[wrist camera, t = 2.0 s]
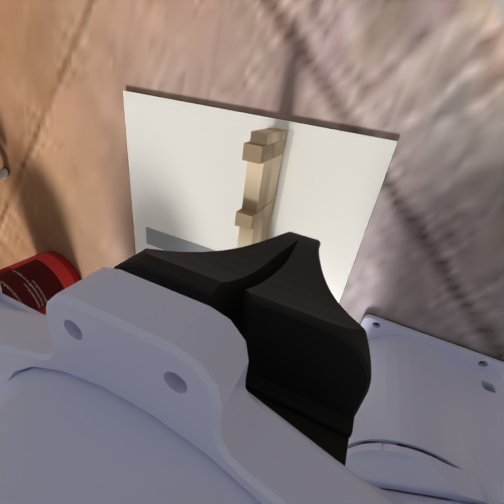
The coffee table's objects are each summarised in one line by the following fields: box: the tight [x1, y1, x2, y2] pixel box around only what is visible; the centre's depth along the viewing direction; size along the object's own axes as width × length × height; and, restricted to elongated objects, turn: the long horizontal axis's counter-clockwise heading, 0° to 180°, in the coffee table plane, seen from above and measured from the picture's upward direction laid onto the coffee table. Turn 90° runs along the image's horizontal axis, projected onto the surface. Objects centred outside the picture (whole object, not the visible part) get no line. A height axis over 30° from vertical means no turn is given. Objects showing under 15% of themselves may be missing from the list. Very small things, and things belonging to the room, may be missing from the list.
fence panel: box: [235, 127, 286, 248], centre depth 19 cm, size 10×1×4 cm, turn 172°
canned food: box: [0, 252, 80, 315], centre depth 33 cm, size 8×8×11 cm
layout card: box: [123, 91, 398, 303], centre depth 23 cm, size 20×16×1 cm
